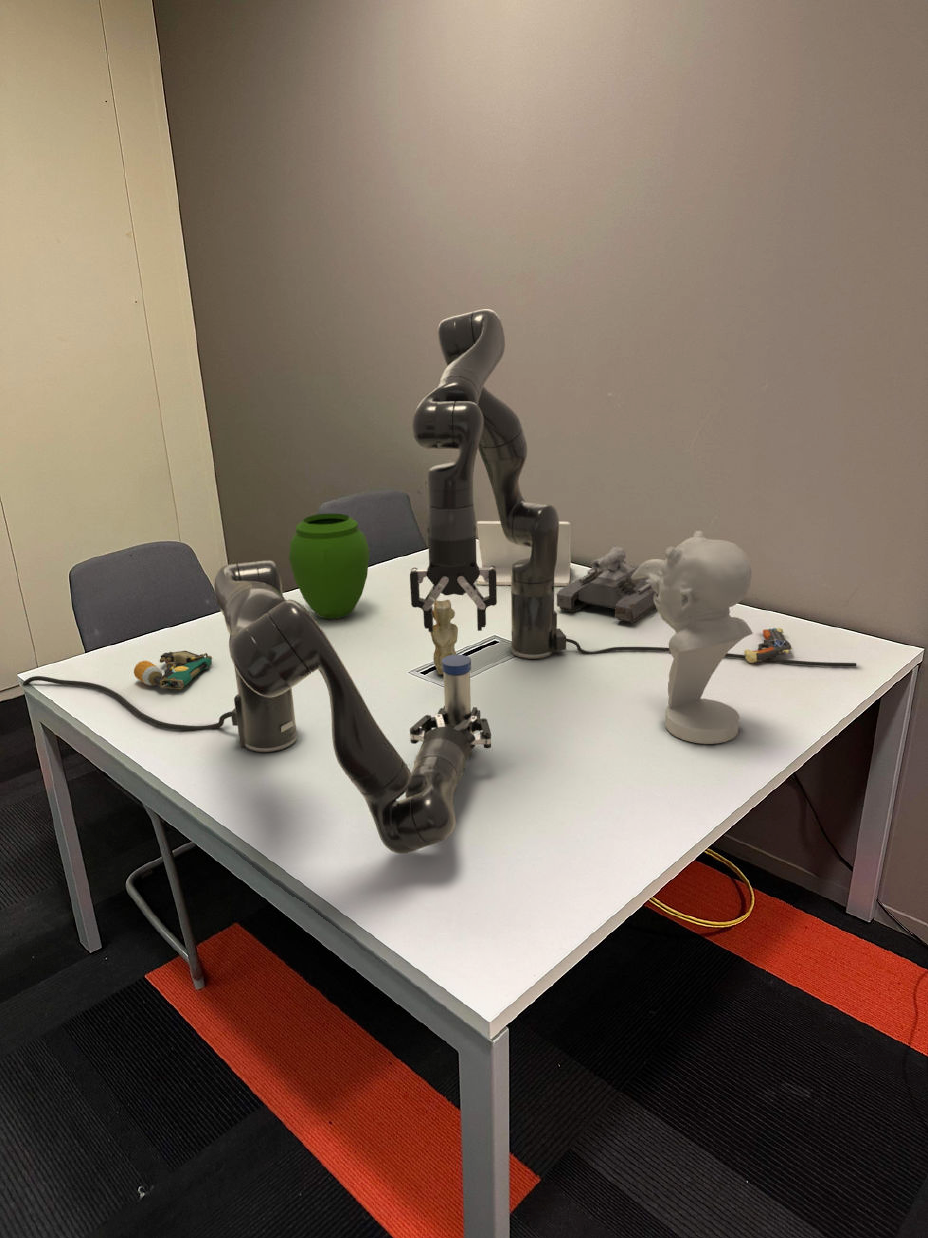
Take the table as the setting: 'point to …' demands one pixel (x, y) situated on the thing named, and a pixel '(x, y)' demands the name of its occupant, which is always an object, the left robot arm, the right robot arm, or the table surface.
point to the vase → (329, 563)
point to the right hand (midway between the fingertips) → (455, 629)
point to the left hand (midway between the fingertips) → (460, 711)
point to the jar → (457, 698)
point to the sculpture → (443, 632)
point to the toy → (610, 589)
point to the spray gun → (172, 669)
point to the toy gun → (769, 646)
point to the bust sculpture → (699, 629)
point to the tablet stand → (518, 553)
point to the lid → (456, 664)
